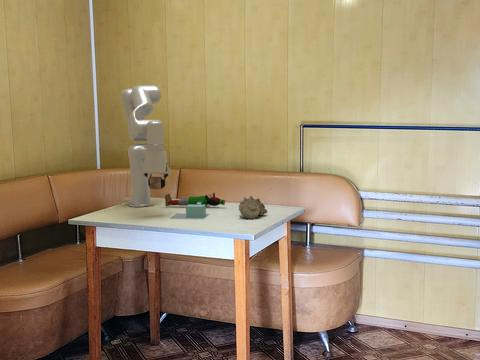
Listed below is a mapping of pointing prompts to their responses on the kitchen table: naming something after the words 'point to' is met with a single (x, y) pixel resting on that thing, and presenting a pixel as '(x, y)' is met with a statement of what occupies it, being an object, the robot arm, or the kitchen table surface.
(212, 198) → the toy
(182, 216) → the build board
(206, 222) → the kitchen table surface
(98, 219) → the kitchen table surface
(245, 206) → the seashell
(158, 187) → the walnut block
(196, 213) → the teal brick
